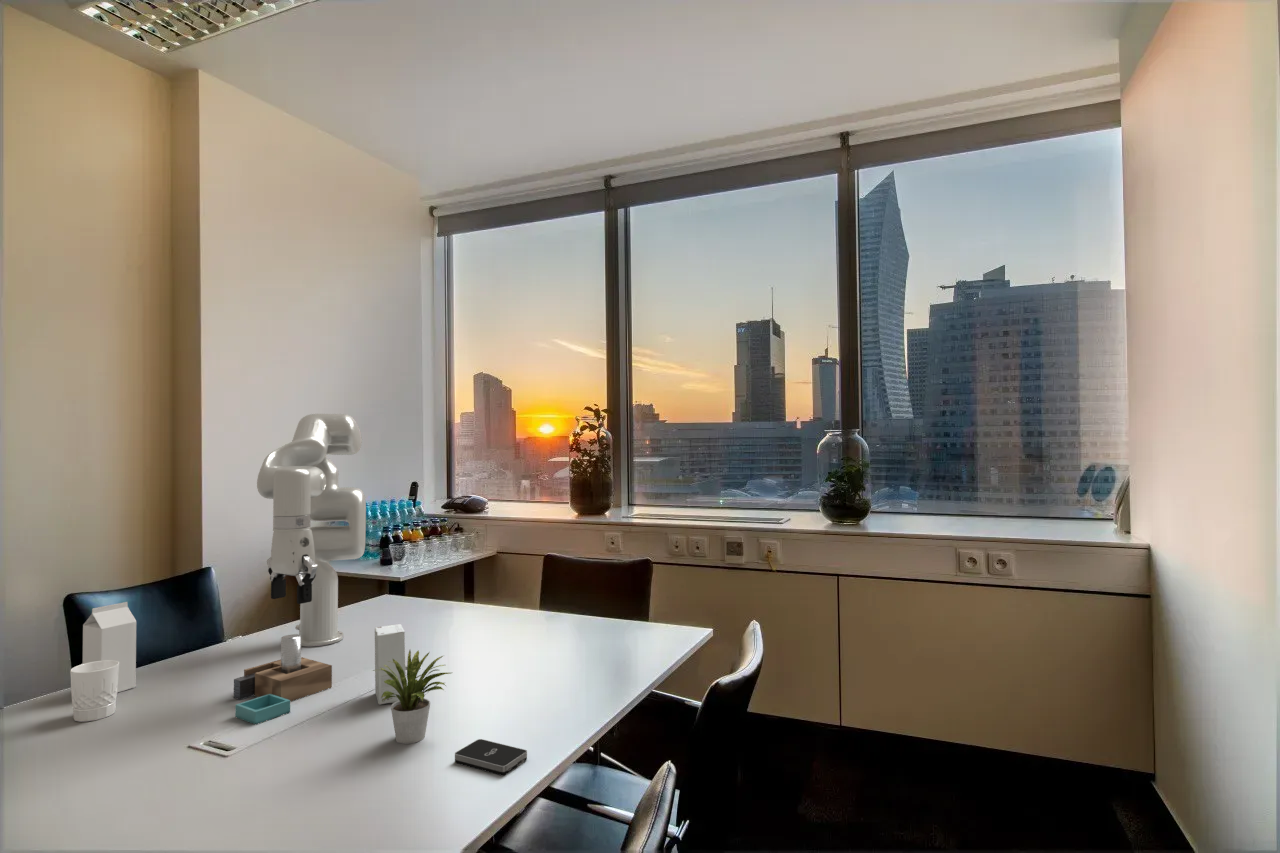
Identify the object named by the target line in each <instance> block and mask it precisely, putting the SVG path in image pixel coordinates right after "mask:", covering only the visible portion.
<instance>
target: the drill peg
mask: <svg viewBox="0 0 1280 853" xmlns="http://www.w3.org/2000/svg"><path fill="white" fill-rule="evenodd" d="M280 641H281V642H280V659H281V673H285V674H288V673H292V672H295V671H298V670H301V657H302V646H301V635H299V633H298V634H295V633H294V634H287V635H284V636H281V637H280Z"/></svg>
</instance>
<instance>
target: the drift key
mask: <svg viewBox="0 0 1280 853" xmlns="http://www.w3.org/2000/svg"><path fill="white" fill-rule="evenodd" d="M253 696H255V673H253V674H250V675H246V676H244V675H243V676H239V677H236V678H233V698H234V699H236V700H239V701H240V700H244V699H246V698H250V697H253ZM243 698H244V699H243Z"/></svg>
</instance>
